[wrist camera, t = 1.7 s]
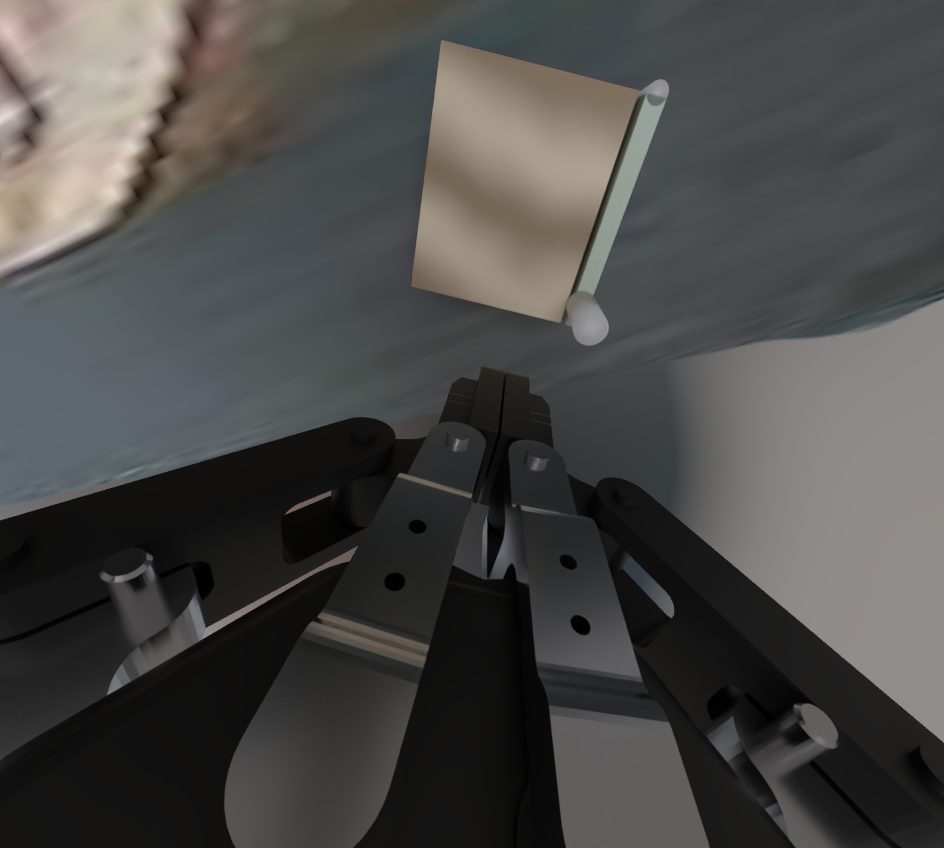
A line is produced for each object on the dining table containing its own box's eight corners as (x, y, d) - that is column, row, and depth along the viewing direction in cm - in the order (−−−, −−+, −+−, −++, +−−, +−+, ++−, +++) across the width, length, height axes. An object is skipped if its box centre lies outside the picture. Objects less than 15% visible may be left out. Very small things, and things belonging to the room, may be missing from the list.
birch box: (468, 83, 29) (441, 39, 20) (602, 117, 29) (639, 90, 20) (441, 256, 35) (411, 286, 26) (551, 283, 35) (560, 323, 26)
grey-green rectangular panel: (604, 107, 28) (674, 50, 15) (629, 113, 28) (719, 62, 15) (550, 283, 35) (565, 349, 22) (570, 288, 35) (597, 357, 22)
